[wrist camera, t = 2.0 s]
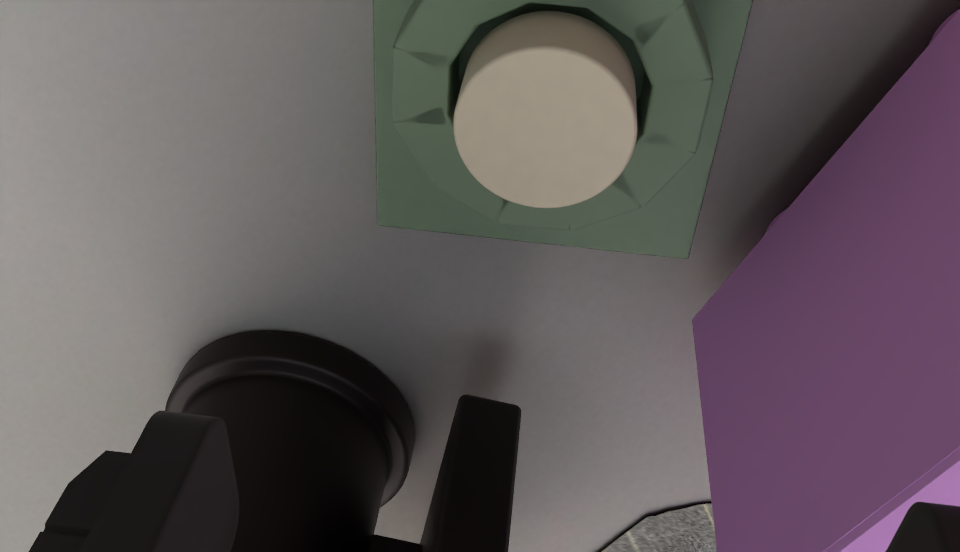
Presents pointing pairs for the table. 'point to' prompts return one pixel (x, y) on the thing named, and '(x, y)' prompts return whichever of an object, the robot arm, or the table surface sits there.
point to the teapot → (845, 337)
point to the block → (660, 121)
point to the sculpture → (671, 532)
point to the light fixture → (343, 449)
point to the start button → (547, 110)
